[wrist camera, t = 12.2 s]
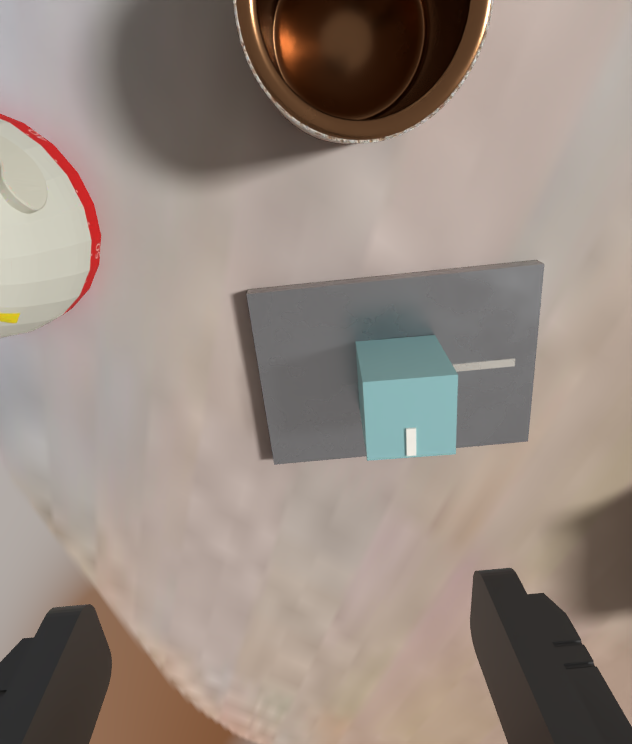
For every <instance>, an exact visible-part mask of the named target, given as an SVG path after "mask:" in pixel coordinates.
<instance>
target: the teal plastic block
mask: <svg viewBox="0 0 632 744" xmlns="http://www.w3.org/2000/svg"><path fill="white" fill-rule="evenodd" d="M355 343H356V359H357V375H358V391H359V406H360V415H361V422H362V429H363V435H364V442H365V449H366V455H367V461H368V460H382V459H396V458H409V457H423V456H436V455H450V454H456V427H457V395H458V374H457V372H456V370H455V368H454V367H453V365H452V363H451V362H450V360H449V358H448V356H447V355H446V353H445V351H444V350H443V348H442V346H441V344H440V343H439V341H438V339H437V338H436V336H435V335H428V336H416V337H404V338H392V339H380V340H368V341H356V342H355Z"/></svg>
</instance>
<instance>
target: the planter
mask: <svg viewBox="0 0 632 744" xmlns="http://www.w3.org/2000/svg"><path fill="white" fill-rule="evenodd" d="M493 2H494V0H233V5H234V14H235V21H236V26H237V31H238V35H239V39H240V43H241V46H242V49H243V52H244V55H245V57H246V60H247V62H248V64H249V67H250V69H251V71H252V73H253V74H254V76H255V78H256V80H257V82H258V83H259V85H260V86H261V88H262V89H263V91H264V92H265V93H266V95H267V96H268V97H269V99H270V100H271V101H272V102H273V103H274V105H275V106H276V107H277V109H278V110H279V111H280V112H281V113H282V114H283V115H284V116H285V117H286V118H287V119H288V120H289V121H290V122H291V123H292V124H293V125H295V126H296V127H298V128H299V129H300V130H302V131H304V132H305V133H307V134H309V135H311V136H313V137H316V138H318V139H321V140H324V141H329V142H334V143H344V144H351V143H372V142H379V141H384V140H388V139H391V138H394V137H397V136H399V135H402V134H404V133H406V132H408V131H410V130H412V129H414V128H416V127H418V126H419V125H421V124H422V123H424V122H425V121H427V120H428V119H430V118H431V117H432V116H433V115H434V114H436V113H437V112H438V111H439V110H440V109H441V108H442V107H443V106H444V105H445V104H446V103H447V102H448V101H449V100H450V99H451V98H452V97H453V96H454V94H455V93H456V92H457V91H458V89H459V88H460V87H461V85H462V84H463V82H464V81H465V79H466V78H467V76H468V74H469V73H470V71H471V69H472V68H473V66H474V64H475V62H476V60H477V58H478V55H479V53H480V51H481V48H482V46H483V43H484V40H485V37H486V34H487V30H488V27H489V23H490V19H491V14H492V8H493Z"/></svg>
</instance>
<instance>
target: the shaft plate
mask: <svg viewBox="0 0 632 744" xmlns="http://www.w3.org/2000/svg"><path fill="white" fill-rule="evenodd" d="M543 272H544V264H543V263H541V262H540V261H538V260H532V261H522V262H512V263H502V264H493V265H483V266H473V267H463V268H453V269H444V270H434V271H424V272H414V273H404V274H395V275H385V276H375V277H365V278H355V279H346V280H336V281H326V282H316V283H306V284H297V285H287V286H277V287H267V288H257V289H248V291H247V294H246V295H247V301H248V307H249V313H250V319H251V325H252V332H253V338H254V344H255V350H256V356H257V362H258V368H259V374H260V380H261V387H262V393H263V399H264V405H265V411H266V417H267V423H268V429H269V435H270V442H271V448H272V454H273V460H274V464H285V463H296V462H307V461H318V460H329V459H340V458H351V457H362V456H367V455H366V449H365V442H364V435H363V429H362V422H361V415H360V406H359V391H358V375H357V359H356V343H355V342H356V341H368V340H380V339H392V338H404V337H416V336H428V335H435V336H436V338H437V339H438V341H439V343H440V344H441V346H442V348H443V350H444V351H445V353H446V355H447V356H448V358H449V360H450V362H451V363H452V365H453V367H454V368H455V370H456V372H457V374H458V395H457V427H456V448H460V447H471V446H482V445H493V444H504V443H515V442H526V441H528V434H529V424H530V413H531V402H532V391H533V380H534V369H535V359H536V348H537V337H538V326H539V315H540V305H541V294H542V283H543Z"/></svg>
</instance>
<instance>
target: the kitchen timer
mask: <svg viewBox="0 0 632 744" xmlns="http://www.w3.org/2000/svg"><path fill="white" fill-rule="evenodd" d="M100 242H101V233H100V229H99V225H98V220H97V216H96V211H95V207H94V203H93V201H92V199H91V197H90V196H89V194H88V192H87V190H86V188H85V186H84V184H83V182H82V180H81V178H80V176H79V174H78V173H77V171H76V170H75V169H74V168H73V167H72V166H71V164H70V163H69V162H68V161H67V160H66V159H65V157H64V156H63V155H62V154H61V153H60V152H59V150H58V149H57V148H56V147H55V146H54V145H53V144H52V143H50V142H49V141H48V140H46V139H45V138H43V137H42V136H41V135H39V134H38V133H37V132H35V131H34V130H32V129H31V128H30V127H28V126H27V125H26V124H24V123H22V122H19V121H17V120H14V119H12V118H9V117H7V116H4V115H2V114H0V338H2V337H7V336H12V335H18V334H23V333H27V332H31V331H34V330H36V329H38V328H40V327H42V326H44V325H45V324H47V323H49V322H51V321H53V320H54V319H56V318H58V317H60V316H62V315H63V314H65V313H66V312H67V311H69V310H70V309H72V308H73V307H74V306H75V305H76V303H77V302H78V301H79V300H80V299H81V298H82V297H83V295H84V294H85V293H86V292H87V291H88V290H89V288H90V286H91V283H92V281H93V278H94V276H95V273H96V271H97V268H98V266H99V259H100Z"/></svg>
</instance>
